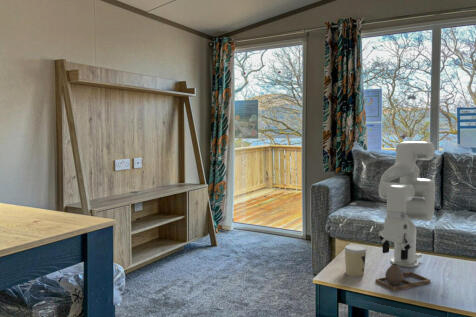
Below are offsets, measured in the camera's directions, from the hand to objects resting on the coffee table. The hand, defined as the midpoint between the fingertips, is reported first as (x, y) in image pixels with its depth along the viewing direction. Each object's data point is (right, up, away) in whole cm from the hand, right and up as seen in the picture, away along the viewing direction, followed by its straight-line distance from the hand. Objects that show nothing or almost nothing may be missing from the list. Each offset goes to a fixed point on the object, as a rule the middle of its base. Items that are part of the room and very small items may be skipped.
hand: (394, 255), depth 160 cm
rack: (+4, -12, +5) cm, 14 cm away
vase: (0, -13, +2) cm, 13 cm away
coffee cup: (-12, -12, +14) cm, 22 cm away
